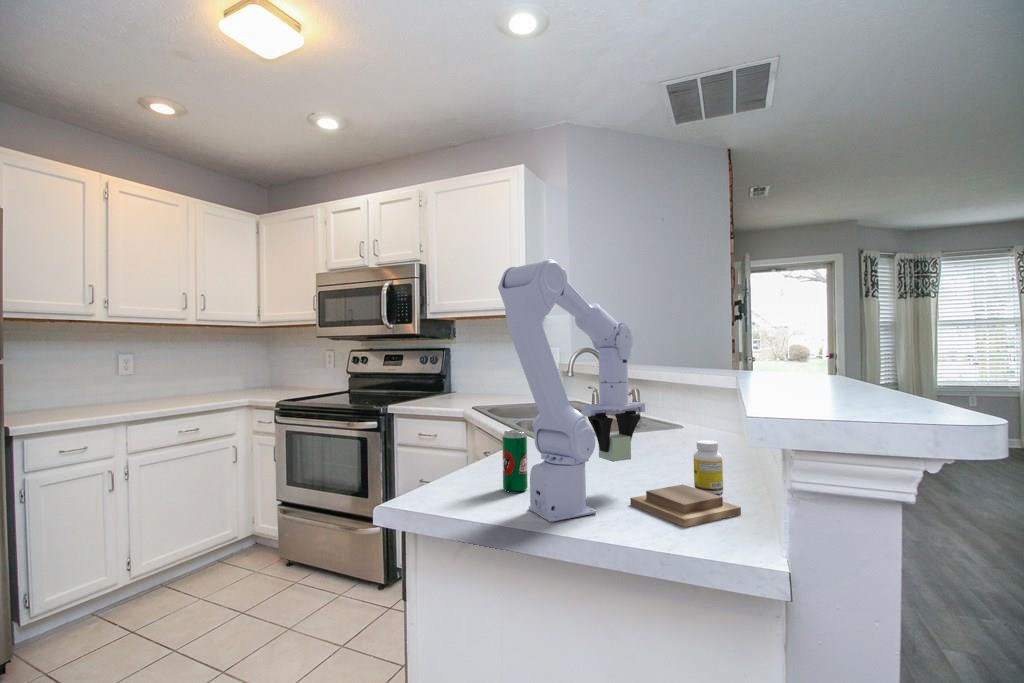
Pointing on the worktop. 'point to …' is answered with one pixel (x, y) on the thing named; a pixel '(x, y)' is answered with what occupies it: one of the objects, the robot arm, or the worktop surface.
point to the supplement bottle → (708, 467)
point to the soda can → (514, 460)
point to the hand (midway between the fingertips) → (614, 450)
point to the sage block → (617, 448)
